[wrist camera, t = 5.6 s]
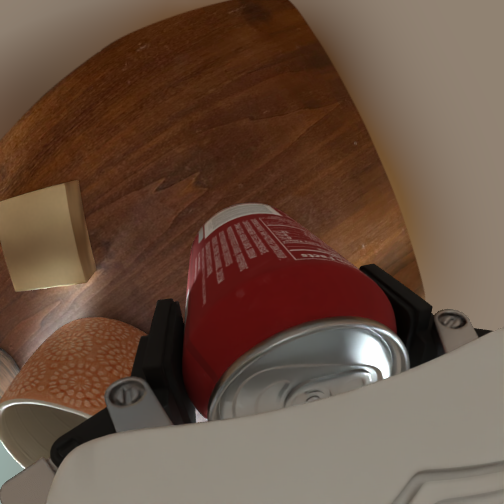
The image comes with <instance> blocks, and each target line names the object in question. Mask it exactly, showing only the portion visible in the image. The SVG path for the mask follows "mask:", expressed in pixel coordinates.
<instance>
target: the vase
mask: <svg viewBox="0 0 504 504" xmlns="http://www.w3.org/2000/svg"><path fill="white" fill-rule="evenodd" d="M19 371H20V370H19V368H18V366H17V364H16V363H15V361H14V360H13V359H12V357H11V356H10V355H9V354H8V353H7V352H5V351H4V350H3V349H1V348H0V399H1V398H2V396H3V394H4V393H5V391H6V390H7V388H8V387H9V385H10V384H11V382H12V381H13V379H14V378H15V377H16V375H17V374H18V373H19Z"/></svg>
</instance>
